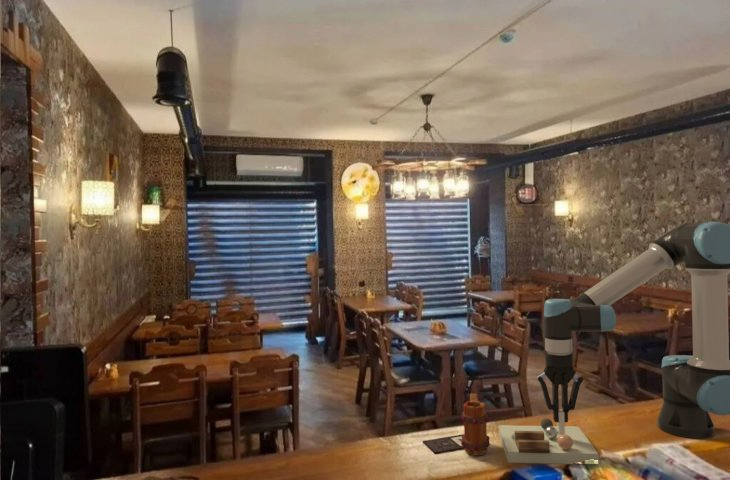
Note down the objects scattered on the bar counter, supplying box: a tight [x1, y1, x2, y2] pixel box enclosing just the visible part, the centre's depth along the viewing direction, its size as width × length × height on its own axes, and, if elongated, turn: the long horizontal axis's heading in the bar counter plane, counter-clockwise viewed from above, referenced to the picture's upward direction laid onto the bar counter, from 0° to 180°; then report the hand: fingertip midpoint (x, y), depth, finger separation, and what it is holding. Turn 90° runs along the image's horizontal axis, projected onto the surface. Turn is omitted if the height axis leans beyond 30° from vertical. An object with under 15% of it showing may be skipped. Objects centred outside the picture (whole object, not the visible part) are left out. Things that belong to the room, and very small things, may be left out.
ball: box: [545, 426, 558, 439], centre depth 149 cm, size 4×4×4 cm
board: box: [498, 424, 600, 465], centre depth 150 cm, size 24×20×3 cm
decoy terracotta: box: [558, 434, 573, 450], centre depth 142 cm, size 4×4×4 cm
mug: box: [461, 393, 491, 456], centre depth 151 cm, size 15×8×15 cm, turn 168°
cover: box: [514, 431, 550, 453], centre depth 143 cm, size 8×8×3 cm
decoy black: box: [540, 417, 554, 430], centre depth 156 cm, size 4×4×4 cm
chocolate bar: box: [422, 433, 465, 455], centre depth 156 cm, size 9×1×18 cm
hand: (561, 432), depth 149 cm, fingers closed
